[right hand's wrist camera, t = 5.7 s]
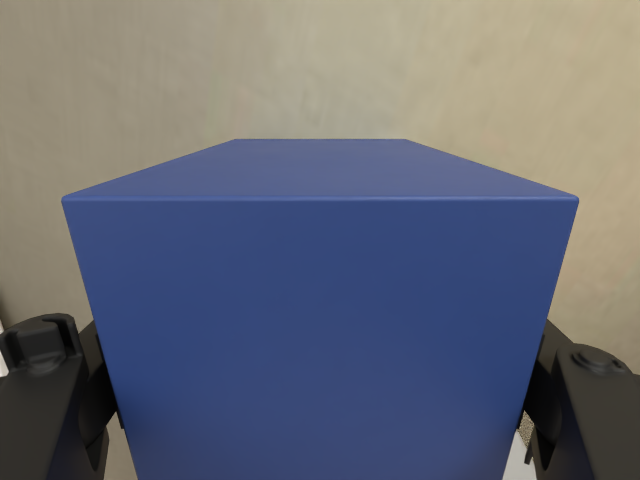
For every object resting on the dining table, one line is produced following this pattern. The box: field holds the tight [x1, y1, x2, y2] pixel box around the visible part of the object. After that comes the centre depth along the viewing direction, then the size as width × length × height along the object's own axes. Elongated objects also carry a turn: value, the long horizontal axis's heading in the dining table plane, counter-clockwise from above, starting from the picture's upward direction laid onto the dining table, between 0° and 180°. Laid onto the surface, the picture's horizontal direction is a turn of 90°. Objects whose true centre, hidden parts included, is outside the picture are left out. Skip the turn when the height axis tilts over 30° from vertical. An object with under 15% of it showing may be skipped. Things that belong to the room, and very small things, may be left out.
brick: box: [61, 139, 579, 480], centre depth 12 cm, size 8×9×12 cm
